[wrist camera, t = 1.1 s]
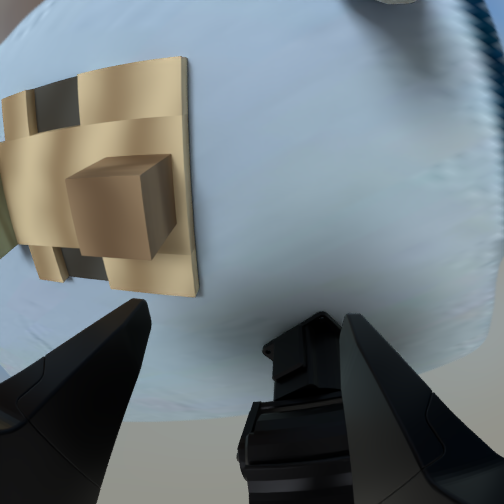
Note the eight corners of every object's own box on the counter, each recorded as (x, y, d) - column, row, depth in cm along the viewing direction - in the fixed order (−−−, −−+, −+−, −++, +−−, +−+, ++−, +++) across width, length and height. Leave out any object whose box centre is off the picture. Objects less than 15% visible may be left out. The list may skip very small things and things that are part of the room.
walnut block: (171, 153, 17) (139, 175, 13) (176, 223, 19) (151, 260, 16) (105, 157, 18) (64, 179, 14) (115, 222, 20) (81, 255, 16)
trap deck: (187, 57, 15) (161, 51, 12) (199, 287, 23) (185, 325, 20) (-9, 105, 17) (-45, 115, 13) (26, 269, 25) (1, 294, 21)
